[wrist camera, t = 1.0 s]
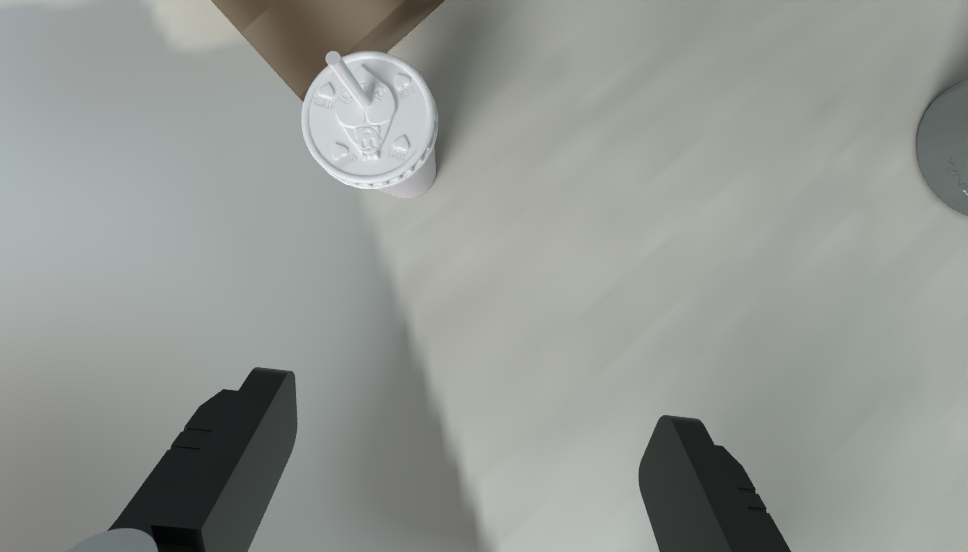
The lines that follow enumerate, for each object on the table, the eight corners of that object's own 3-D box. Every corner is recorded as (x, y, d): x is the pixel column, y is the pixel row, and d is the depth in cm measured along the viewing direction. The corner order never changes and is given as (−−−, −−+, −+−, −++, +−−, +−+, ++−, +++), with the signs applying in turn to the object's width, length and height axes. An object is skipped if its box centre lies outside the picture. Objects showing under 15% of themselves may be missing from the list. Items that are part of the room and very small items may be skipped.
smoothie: (451, 117, 32) (410, -21, 18) (461, 213, 32) (428, 146, 18) (356, 130, 32) (243, 1, 18) (365, 224, 32) (258, 167, 18)
